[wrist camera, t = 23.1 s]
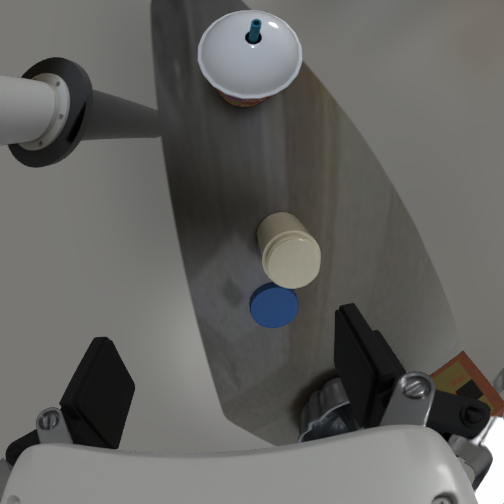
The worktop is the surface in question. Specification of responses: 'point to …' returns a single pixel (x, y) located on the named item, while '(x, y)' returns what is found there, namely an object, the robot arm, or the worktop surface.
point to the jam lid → (273, 305)
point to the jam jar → (288, 251)
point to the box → (468, 383)
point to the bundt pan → (327, 413)
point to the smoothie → (249, 56)
